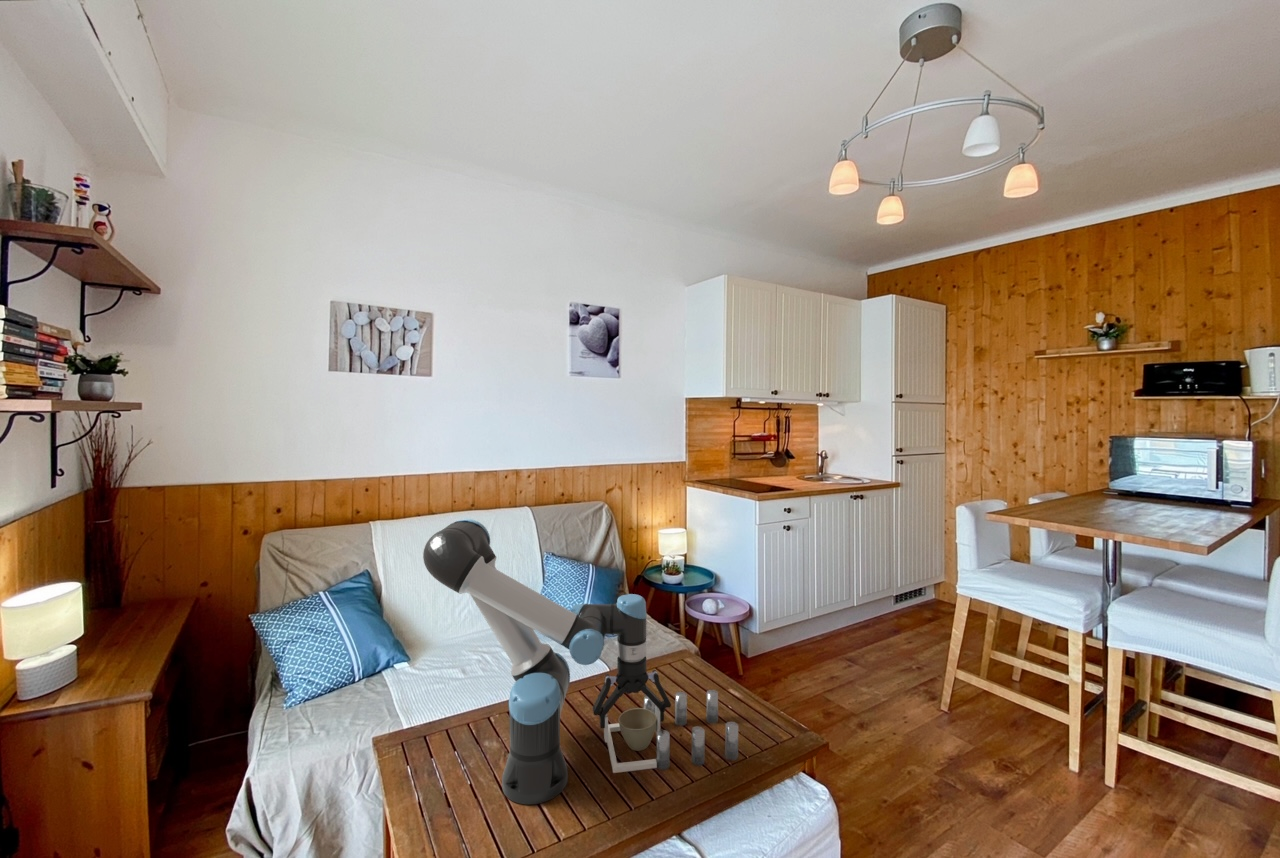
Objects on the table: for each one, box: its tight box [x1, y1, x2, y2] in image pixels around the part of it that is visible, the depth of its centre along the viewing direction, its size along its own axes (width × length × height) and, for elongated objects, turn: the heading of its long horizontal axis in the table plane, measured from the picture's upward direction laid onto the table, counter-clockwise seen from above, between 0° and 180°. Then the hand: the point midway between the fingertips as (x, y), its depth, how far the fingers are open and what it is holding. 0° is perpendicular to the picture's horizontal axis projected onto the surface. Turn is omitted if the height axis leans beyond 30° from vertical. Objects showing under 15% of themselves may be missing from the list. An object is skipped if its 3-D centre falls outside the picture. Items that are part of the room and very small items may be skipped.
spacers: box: [643, 689, 739, 771], centre depth 144 cm, size 21×20×8 cm
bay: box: [606, 722, 658, 774], centre depth 141 cm, size 11×18×1 cm, turn 10°
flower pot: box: [618, 707, 657, 752], centre depth 142 cm, size 10×10×7 cm
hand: (632, 736), depth 141 cm, fingers open, 13 cm apart
